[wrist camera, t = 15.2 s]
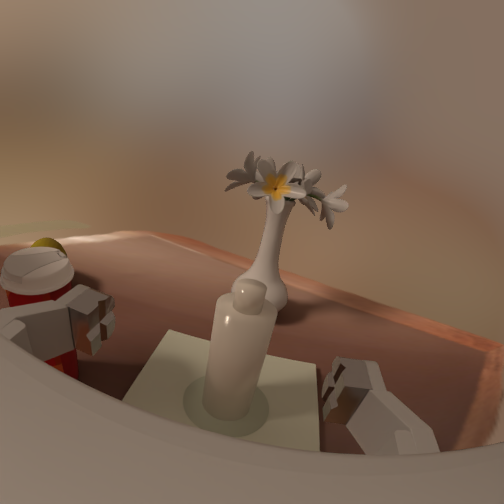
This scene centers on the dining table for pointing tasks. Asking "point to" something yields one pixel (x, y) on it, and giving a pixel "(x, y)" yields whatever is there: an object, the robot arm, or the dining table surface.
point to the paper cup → (40, 288)
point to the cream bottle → (237, 349)
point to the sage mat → (262, 407)
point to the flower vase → (280, 213)
